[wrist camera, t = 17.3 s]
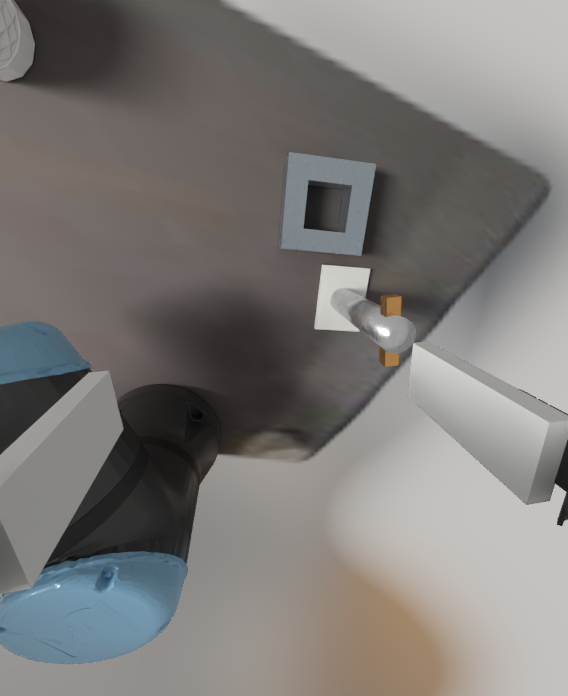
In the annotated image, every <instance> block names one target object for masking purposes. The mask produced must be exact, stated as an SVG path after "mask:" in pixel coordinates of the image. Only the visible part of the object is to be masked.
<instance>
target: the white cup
mask: <svg viewBox="0 0 568 696" xmlns="http://www.w3.org/2000/svg"><path fill="white" fill-rule="evenodd" d="M34 49H35V42H34V39H33V35H32V31H31V28H30V24H29V22H28V20H27V19H26V17H25V16H24V14H23V13H22V11H21V10H20V8H19V7H18V5H17V4H16V2H15V1H14V0H0V81H5V82H8V81H11V80H14V79H17V78H20V77H23V76H24V74H25V73H26V72H27V70H28V69H29V68H30V66H31V65H32V64H33V57H34Z"/></svg>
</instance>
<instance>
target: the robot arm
mask: <svg viewBox="0 0 568 696" xmlns="http://www.w3.org/2000/svg"><path fill="white" fill-rule="evenodd" d="M89 367H91V365H90V363H89V362H87V361H84V360H83V359H82V357H81V356H80V355H79V354H78V352H77V351H76V350H75V348H74V347H73V346H72V345H71V343H70V342H69V341H68V340H67V338H66V337H65V336H64V335H63V333H62V332H61V331H60V330H58V329H57V328H56V327H54V326H52V325H50V324H47V323H44V322H39V321H28V322H21V323H16V324H12V325H8V326H4V327H0V594H2V595H1V597H0V644H1V645H2V646H3V647H4V648H5V649H7V650H8V651H10V652H12V653H14V654H16V655H18V656H21V657H24V658H27V659H30V660H34V661H39V662H45V663H54V664H82V663H92V662H97V661H102V660H107V659H111V658H115V657H118V656H121V655H124V654H127V653H129V652H132V651H134V650H136V649H138V648H140V647H142V646H144V645H146V644H147V643H149V642H150V641H152V640H153V639H154V638H155V637H157V636H158V635H159V634H160V633H161V632H162V631H163V630H164V629H165V627H166V626H167V625H168V624H169V622H170V621H171V618H172V617H173V615H174V613H175V612H176V609H177V606H178V603H179V599H180V595H181V591H182V587H183V583H184V579H185V578H186V576H187V572H188V568H187V567H188V566H186V565H187V559H188V553H189V546H190V540H191V534H192V528H193V522H194V516H195V509H196V503H197V496H198V490H199V485H200V484H201V482H202V480H203V479H204V478H205V476H206V474H207V473H208V471H209V470H210V468H211V467H212V465H213V463H214V462H215V460H216V457H217V454H218V451H219V445H220V425H219V422H218V419H217V417H216V414H215V413H214V411H213V410H212V408H211V407H210V406H209V405H208V404H207V403H206V402H205V401H204V400H203V399H202V398H201V397H199V396H198V395H196V394H194V393H193V392H191V391H189V390H186V389H183V388H180V387H177V386H172V385H149V386H144V387H140V388H137V389H134V390H132V391H130V392H128V393H126V394H125V395H123V396H122V397H121V398H119V399H118V400H117V401H116V397H115V392H114V388H113V384H112V380H111V376H110V372H109V371H100V372H92V371H91V370H90V368H89ZM408 397H409V398H410V399H411V400H412V401H413V402H414V403H415V404H416V405H418V406H419V407H420V408H421V409H422V410H423V411H424V412H425V413H426V414H427V415H429V417H431V418H432V419H433V420H434V421H435V422H436V423H437V424H438V425H439V426H440V427H442V428H443V429H444V430H445V431H446V432H447V433H448V434H449V435H450V436H452V437H453V438H454V439H455V440H456V441H457V442H458V443H459V444H460V445H461V446H462V447H464V448H465V449H466V450H467V451H468V452H469V453H470V454H471V455H472V456H473V457H474V458H476V459H477V460H478V461H479V462H480V463H481V464H482V465H483V466H484V467H485V468H487V469H488V470H489V471H490V472H491V473H492V474H493V475H494V476H495V477H497V478H498V479H499V480H500V481H501V482H502V483H503V484H504V485H505V486H506V487H507V488H509V489H510V490H511V491H512V492H513V493H514V494H515V495H516V496H517V497H518V498H519V499H521V500H522V501H523V502H524V503H525V504H526V505H528V504H534V503H540V502H546V501H550V498H551V495H552V492H553V489H554V485H555V483H556V484H557V485H558V486H560V487H561V488H562V489H563V490H565V491H566V492H567V493H566V496H565V499H564V502H563V505H562V508H561V511H560V514H559V517H558V521H557V525H560V526H562V525H563V522H564V521H565V520H567V519H568V414H566V413H565V412H562V411H561V410H559V409H557V408H555V407H553V406H551V405H548V404H547V403H546V402H544V401H542V400H540V399H536V397H534V396H532V395H530V394H528V393H527V392H525V391H523V390H520V389H517V388H515V387H513V386H512V385H510V384H508V383H506V382H504V381H502V380H500V379H498V378H496V377H495V376H493V375H491V374H489V373H487V372H485V371H483V370H481V369H480V368H478V367H476V366H474V365H472V364H470V363H468V362H466V361H465V360H463V359H461V358H459V357H457V356H455V355H453V354H451V353H449V352H448V351H446V350H444V349H442V348H440V347H438V346H436V345H434V344H432V343H430V342H419V343H413V351H412V361H411V370H410V380H409V390H408Z"/></svg>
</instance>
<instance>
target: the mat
mask: <svg viewBox="0 0 568 696" xmlns="http://www.w3.org/2000/svg"><path fill="white" fill-rule="evenodd" d="M369 274H370V269H369V268H358V267H346V266H334V265H322V269H321V277H320V285H319V293H318V300H317V308H316V316H315V324H314V329H320V330H339V331H358V332H359V331H360V330H359V329H358V328H357V327H355V326H354V325H353V324H352V323H350V322H349V321H348V320H347V319H345V318H344V317H343V316H341V315H340V314H339V313H338V312H336V311H335V310H334V309H333V308H332V306H331V303H330V299H331V296H332V294H333V293H334V292H335V291H336V290H338V289H341V288H345V289H348V290H350V291H352V292H354V293H356V294H358V295H360V296H362V297H364V298H365V297H366V291H367V286H368V280H369Z"/></svg>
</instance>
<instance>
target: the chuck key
mask: <svg viewBox="0 0 568 696" xmlns="http://www.w3.org/2000/svg"><path fill="white" fill-rule="evenodd" d="M401 297H402V296H399V295H397V294H388V295H381V306H380V305H378V304H376V303H374V302H372V301H370V300H368V299H366V298H364V297H362V296H360V295H358V294H356V293H354V292H352V291H350V290H348V289H345V288H341V289H338V290H336V291H335V292H334V293H333V294H332V296H331V299H330V303H331V306H332V308H333V309H334V310H335V311H336V312H338V313H339V314H340V315H341V316H343V317H344V318H345V319H347V320H348V321H349V322H350V323H352V324H353V325H354V326H355V327H357V328H358V329H359V330H360V331H362V332H363V333H364V334H365V335H367V336H368V337H369V338H370V339H372V340H373V341H374V342H376V343H377V344H378V345H379V346H380V355H379V362H380V363H381V364H383V365H384V366H385V367H387V366H395V365H398V362H399V353H401V352H404V351H405V350H407V349H408V348H409V347H410V346H411V345H412V343H413V342H414V340H415V336H416V330H415V326H414V325H413V323H412V322H411V321H410V320H408V319H406V318H404V317H402V316H401Z"/></svg>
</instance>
